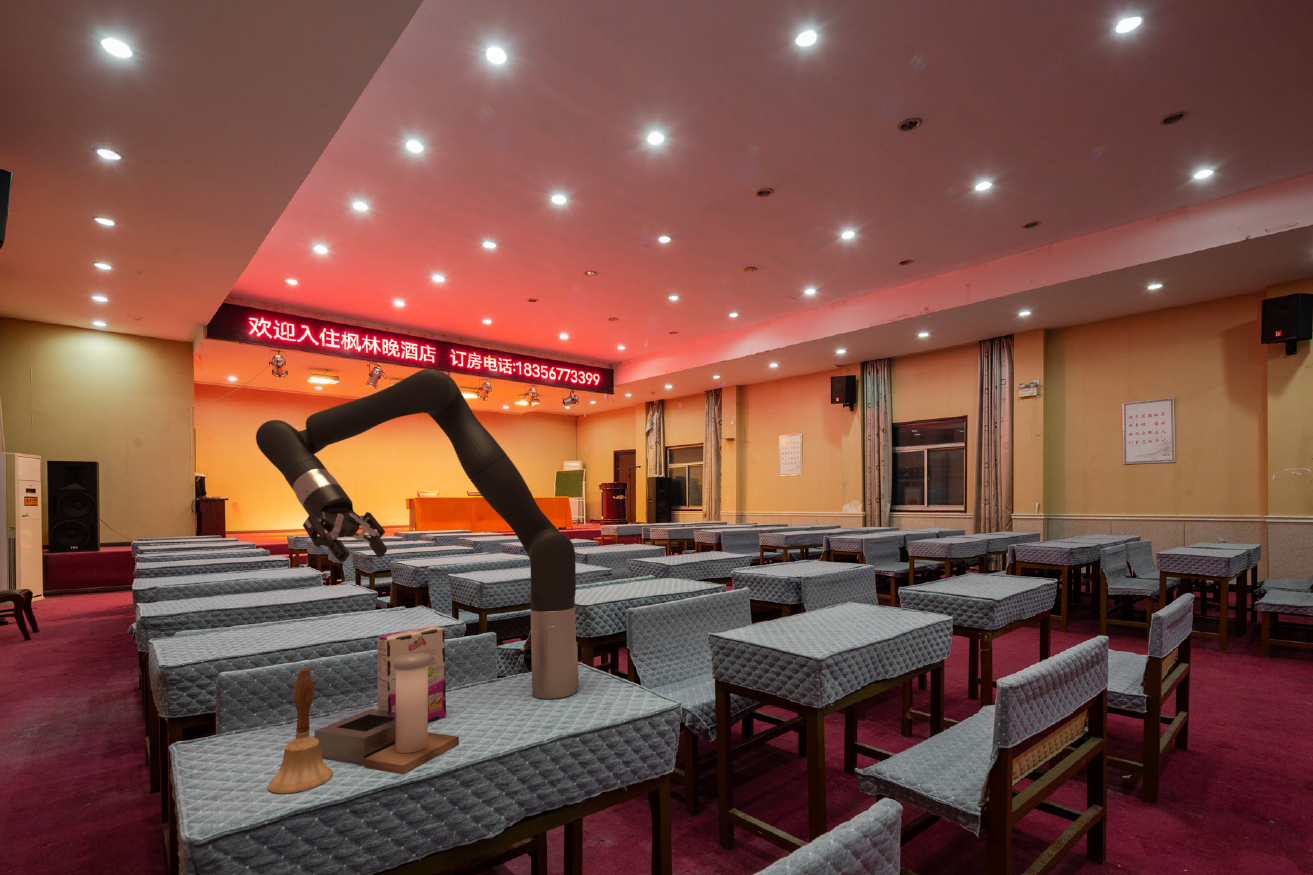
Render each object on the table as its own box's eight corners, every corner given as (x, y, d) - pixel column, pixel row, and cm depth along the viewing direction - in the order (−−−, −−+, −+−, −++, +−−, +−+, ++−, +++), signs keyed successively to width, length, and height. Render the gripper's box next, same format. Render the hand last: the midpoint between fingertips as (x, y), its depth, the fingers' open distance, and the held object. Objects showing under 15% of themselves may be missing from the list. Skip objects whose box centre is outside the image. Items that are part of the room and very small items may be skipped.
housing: (369, 732, 111) (370, 708, 112) (417, 739, 107) (417, 714, 107) (314, 756, 101) (314, 730, 102) (364, 765, 97) (364, 738, 97)
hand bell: (341, 766, 97) (342, 660, 98) (319, 791, 88) (321, 674, 90) (284, 771, 96) (286, 663, 97) (256, 796, 87) (259, 678, 89)
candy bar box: (433, 711, 121) (433, 624, 123) (446, 717, 118) (446, 627, 120) (375, 729, 113) (376, 635, 115) (388, 735, 110) (388, 638, 111)
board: (421, 738, 107) (421, 731, 107) (458, 743, 104) (458, 736, 104) (363, 766, 96) (363, 758, 96) (403, 773, 93) (403, 765, 93)
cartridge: (411, 739, 104) (411, 652, 105) (437, 743, 101) (437, 653, 103) (385, 751, 99) (386, 659, 100) (412, 755, 97) (412, 661, 98)
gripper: (298, 482, 115) (342, 544, 110) (362, 483, 128) (405, 539, 123) (278, 512, 117) (321, 575, 111) (343, 510, 130) (384, 566, 124)
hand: (365, 556), depth 117 cm, fingers open, 8 cm apart
